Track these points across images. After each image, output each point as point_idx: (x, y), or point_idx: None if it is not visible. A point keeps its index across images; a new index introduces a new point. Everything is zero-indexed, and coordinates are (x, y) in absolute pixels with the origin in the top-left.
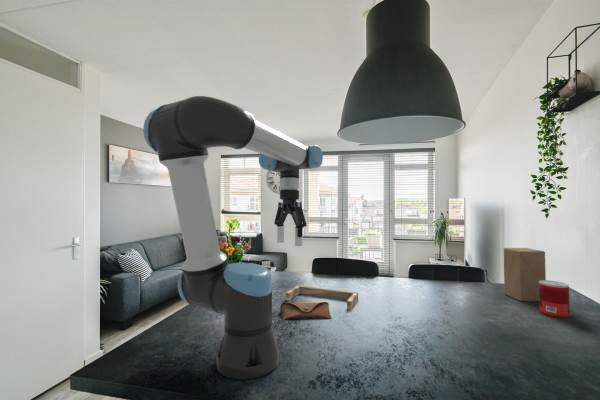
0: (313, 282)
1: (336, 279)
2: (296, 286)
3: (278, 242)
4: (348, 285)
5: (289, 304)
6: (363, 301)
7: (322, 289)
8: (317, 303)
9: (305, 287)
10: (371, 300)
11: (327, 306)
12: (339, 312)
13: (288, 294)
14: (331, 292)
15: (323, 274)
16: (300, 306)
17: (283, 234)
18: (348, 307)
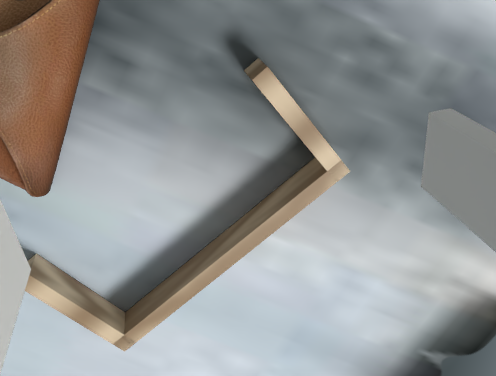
0: (418, 265)
1: (395, 353)
2: (337, 158)
3: (430, 119)
4: (303, 362)
5: (59, 4)
6: None
7: (232, 247)
8: (9, 142)
9: (301, 191)
10: (103, 364)
11: (8, 180)
12: (9, 213)
13: (252, 76)
14: (197, 269)
15: (484, 336)
16: (6, 48)
17: (483, 235)
18: (30, 262)
